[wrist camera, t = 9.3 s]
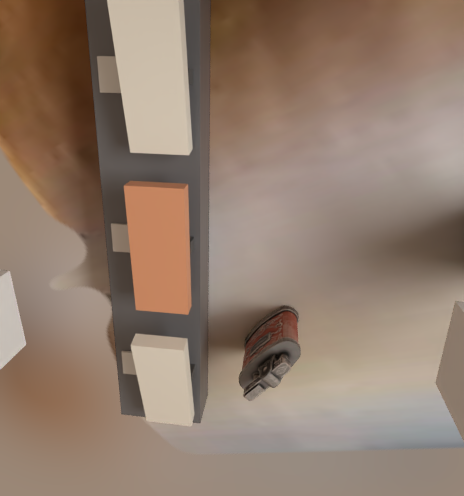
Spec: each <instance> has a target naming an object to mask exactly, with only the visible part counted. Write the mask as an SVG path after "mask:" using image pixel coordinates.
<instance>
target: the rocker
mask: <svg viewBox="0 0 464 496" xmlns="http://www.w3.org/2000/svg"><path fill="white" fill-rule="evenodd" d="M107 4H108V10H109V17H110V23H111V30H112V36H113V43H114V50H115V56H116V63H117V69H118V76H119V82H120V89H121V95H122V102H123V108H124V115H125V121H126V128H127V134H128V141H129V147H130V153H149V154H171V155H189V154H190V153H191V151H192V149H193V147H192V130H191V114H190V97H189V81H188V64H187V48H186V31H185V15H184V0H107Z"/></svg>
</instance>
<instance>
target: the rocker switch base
mask: <svg viewBox="0 0 464 496" xmlns="http://www.w3.org/2000/svg"><path fill="white" fill-rule="evenodd" d="M85 8H86V19H87V30H88V42H89V53H90V64H91V76H92V87H93V98H94V109H95V121H96V132H97V143H98V154H99V166H100V177H101V188H102V200H103V211H104V222H105V233H106V245H107V256H108V267H109V278H110V290H111V301H112V312H113V324H114V335H115V346H116V357H117V369H118V380H119V390H120V402H121V414H124V415H133V416H142V417H146V416H145V411H144V406H143V402H142V397H141V392H140V387H139V383H138V378H137V373H136V369H135V364H134V359H133V355H132V350H131V343H132V341H133V339H134V336H135V334H146V335H157V336H168V337H178V338H187V340H188V351H189V361H190V372H191V382H192V393H193V403H194V418H193V423H201V419H202V415H203V411H204V407H205V403H206V399H207V396H208V276H209V142H210V9H211V0H184V15H185V31H186V48H187V64H188V81H189V97H190V114H191V130H192V147H193V149H192V151H191V153H190V154H189V155H171V154H149V153H130V147H129V141H128V134H127V128H126V121H125V115H124V108H123V102H122V95H121V89H120V82H119V76H118V69H117V63H116V56H115V50H114V43H113V36H112V30H111V23H110V17H109V10H108V4H107V0H85ZM129 181H144V182H163V183H182V184H188V199H189V235H190V270H191V305H192V306H191V309H190V311H189V314H188V315H186V314H175V313H163V312H152V311H140V310H136V306H135V296H134V286H133V275H132V265H131V255H130V245H129V235H128V224H127V214H126V204H125V194H124V185H125V184H126V183H128V182H129Z"/></svg>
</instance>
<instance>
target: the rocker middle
mask: <svg viewBox="0 0 464 496" xmlns="http://www.w3.org/2000/svg"><path fill="white" fill-rule="evenodd" d="M124 194H125V204H126V214H127V224H128V235H129V245H130V255H131V265H132V275H133V286H134V296H135V306H136V310H140V311H152V312H163V313H175V314H186V315H188V314H189V311H190V309H191V306H192V305H191V270H190V235H189V199H188V184H182V183H163V182H144V181H129V182H128V183H126V184H125V185H124Z"/></svg>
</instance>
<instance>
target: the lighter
mask: <svg viewBox="0 0 464 496" xmlns="http://www.w3.org/2000/svg"><path fill="white" fill-rule="evenodd" d="M297 324H298V313H297V311H296V310H295V309H294V308H292V307H290V306H283V307H280V308H279V309H277V310H275V311H274V312H272V313H270V314H269V315H268V316H266V317H265V318H264V319H262V320H261V321H260V322H259V323H258V324H257V325H256V326H255V327H254V328H253V329H252V331H251V332H250V333H249V335H248V336H247V337H246V339H245V355H244V361H243V367H242V371H241V373H240V375H239V384H240V386H241V387H242V388H243V389H244V395H243V396H244V397H245V398H246V399H247V400H248V401H252V400H254V399H255V398H256V397H258V396H259V395H260V394H261V393H263V392H264V391H265V390H266V389H268V388H269V387H272V388H275V387H276V386H278V385H279V383H280V382H281V380H282V378H283V376H284V375H285V374H287V373H288V372H289V371H290V370H291V367H292V366H293V365H294V363H295V362H296V361H297V360H298V359H299V357H300V346H299V344H298V331H297Z"/></svg>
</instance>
